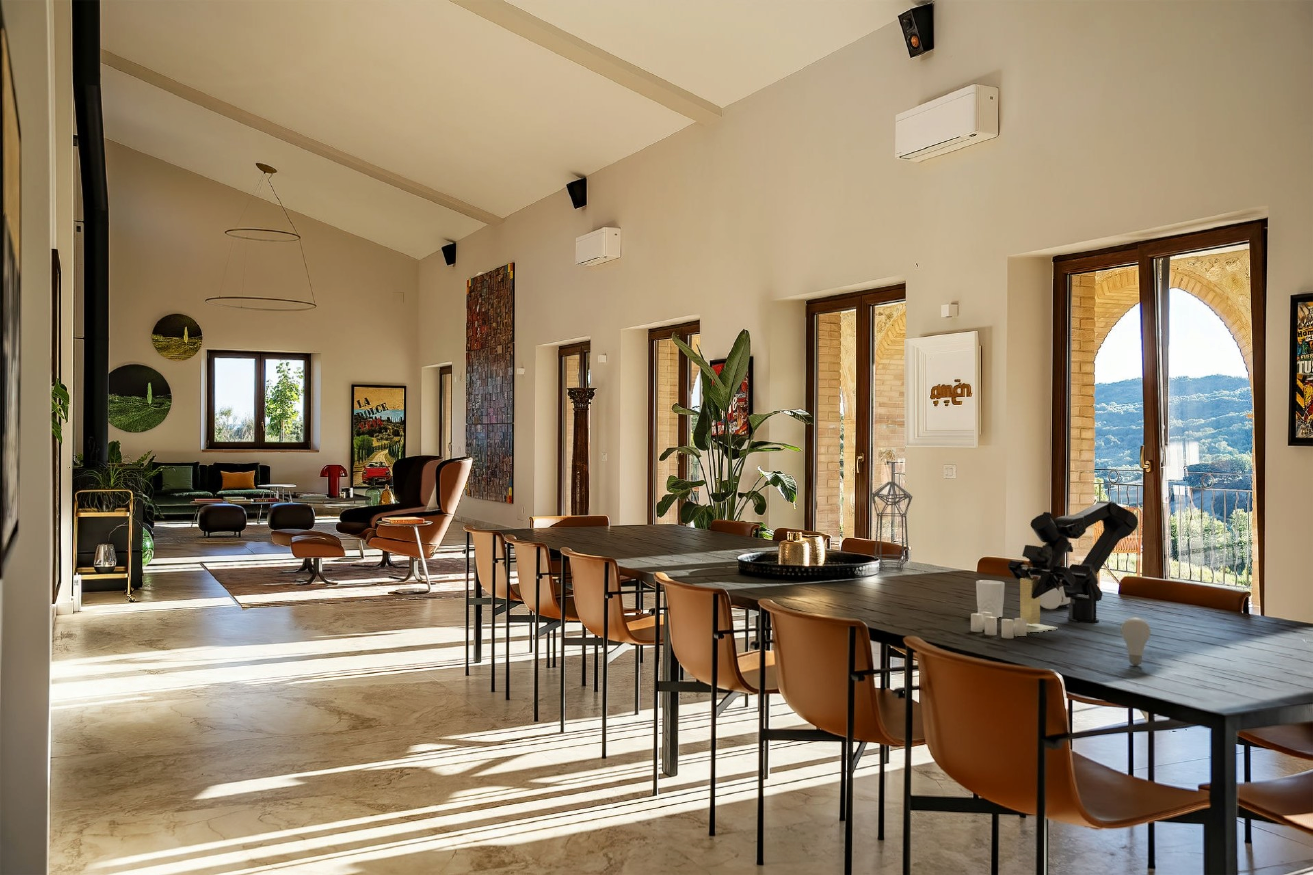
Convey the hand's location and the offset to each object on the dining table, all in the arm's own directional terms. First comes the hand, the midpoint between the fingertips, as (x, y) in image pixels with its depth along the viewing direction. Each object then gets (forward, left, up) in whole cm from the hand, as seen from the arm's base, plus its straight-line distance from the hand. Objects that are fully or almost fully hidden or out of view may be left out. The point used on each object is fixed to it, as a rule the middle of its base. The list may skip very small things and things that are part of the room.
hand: (1026, 596), depth 275 cm
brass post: (-1, -1, -7) cm, 7 cm away
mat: (-1, -1, -9) cm, 9 cm away
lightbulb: (-6, +45, -9) cm, 46 cm away
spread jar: (-24, -35, -9) cm, 43 cm away
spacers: (+11, +6, -9) cm, 15 cm away
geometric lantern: (0, -126, -9) cm, 126 cm away
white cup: (+2, -20, -9) cm, 22 cm away
